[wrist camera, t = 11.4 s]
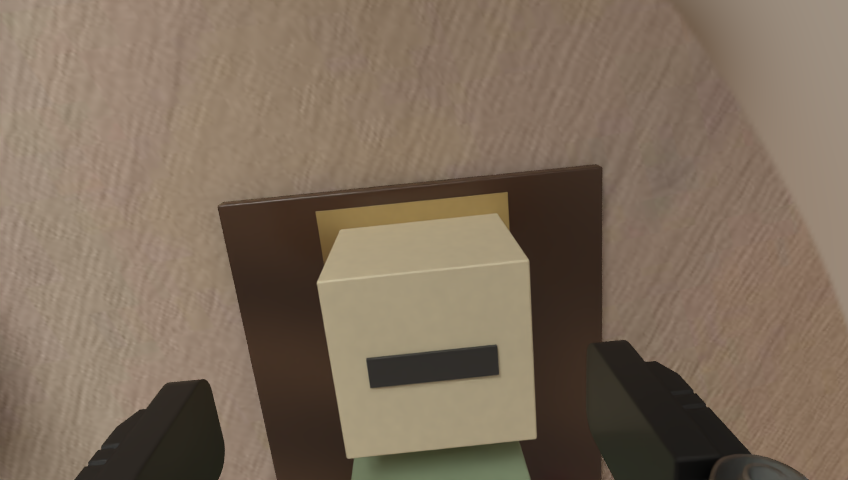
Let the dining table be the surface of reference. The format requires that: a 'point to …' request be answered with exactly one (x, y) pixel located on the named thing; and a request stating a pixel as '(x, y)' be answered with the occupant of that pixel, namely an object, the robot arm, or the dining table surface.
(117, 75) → the dining table surface
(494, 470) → the green letter block
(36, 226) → the dining table surface
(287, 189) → the dining table surface
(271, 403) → the word board
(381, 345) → the cream cube with slot
